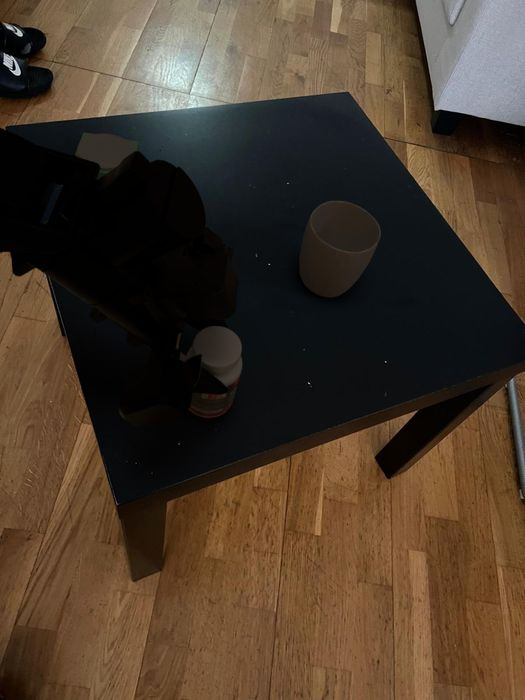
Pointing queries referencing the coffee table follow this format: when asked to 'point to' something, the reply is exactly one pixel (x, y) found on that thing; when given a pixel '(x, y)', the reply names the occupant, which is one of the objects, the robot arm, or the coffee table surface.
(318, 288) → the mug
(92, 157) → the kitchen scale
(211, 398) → the pill bottle
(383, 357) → the coffee table surface
